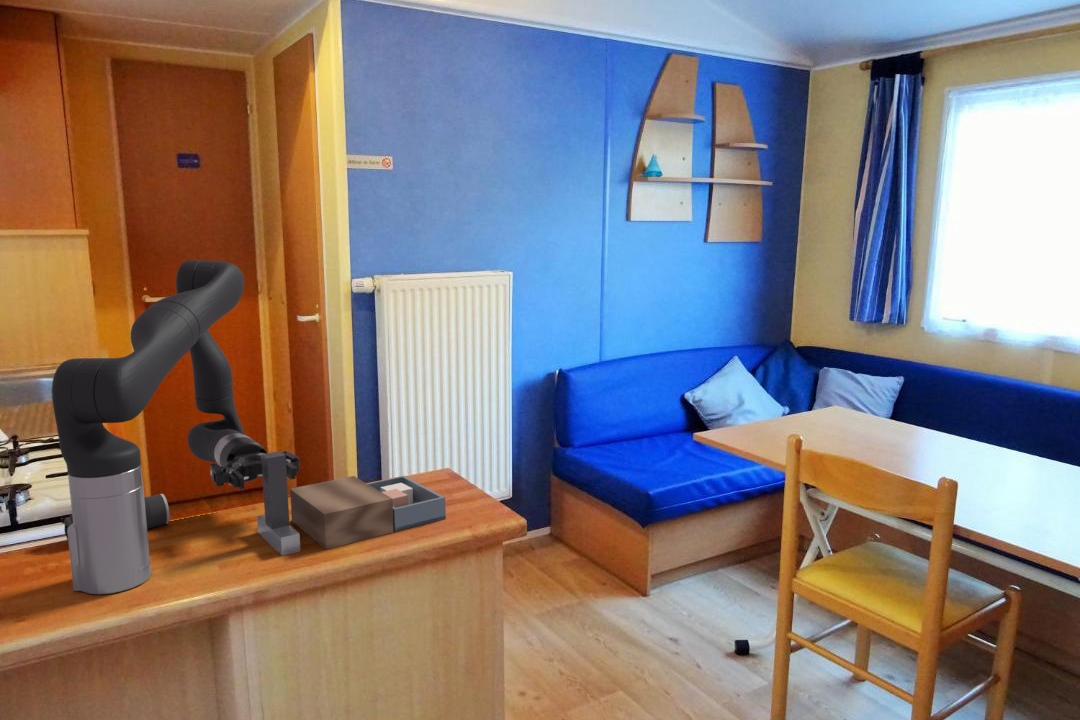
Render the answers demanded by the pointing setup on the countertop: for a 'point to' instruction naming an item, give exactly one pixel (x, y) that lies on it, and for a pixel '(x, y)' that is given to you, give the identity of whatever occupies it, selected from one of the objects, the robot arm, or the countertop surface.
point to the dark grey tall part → (276, 506)
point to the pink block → (397, 497)
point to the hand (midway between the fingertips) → (268, 478)
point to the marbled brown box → (341, 511)
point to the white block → (401, 488)
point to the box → (415, 505)
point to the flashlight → (154, 512)
